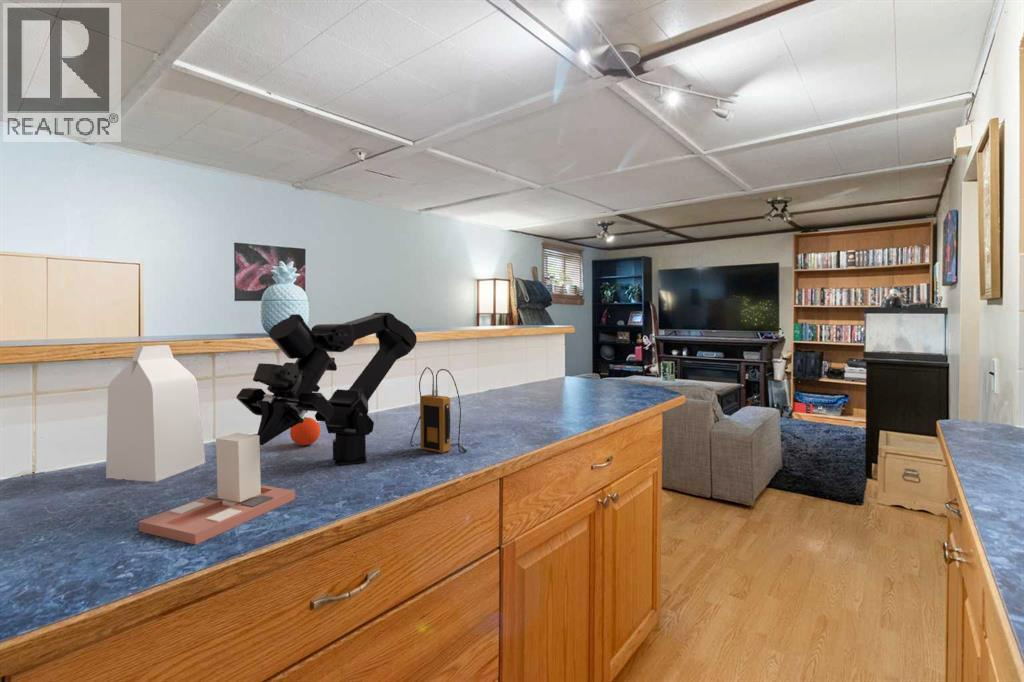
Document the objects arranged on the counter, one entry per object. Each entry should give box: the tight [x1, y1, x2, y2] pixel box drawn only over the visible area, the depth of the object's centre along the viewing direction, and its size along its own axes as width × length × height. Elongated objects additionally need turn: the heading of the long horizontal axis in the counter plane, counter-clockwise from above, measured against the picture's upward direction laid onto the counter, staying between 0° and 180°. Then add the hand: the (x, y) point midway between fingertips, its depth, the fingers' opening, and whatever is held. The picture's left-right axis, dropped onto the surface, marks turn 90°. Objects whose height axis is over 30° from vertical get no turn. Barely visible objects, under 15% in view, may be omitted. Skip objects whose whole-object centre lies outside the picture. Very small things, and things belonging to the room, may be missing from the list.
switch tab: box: [215, 432, 262, 507], centre depth 80 cm, size 4×5×11 cm
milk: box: [105, 344, 206, 483], centre depth 99 cm, size 12×12×26 cm
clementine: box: [289, 416, 321, 447], centre depth 119 cm, size 8×7×7 cm
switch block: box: [138, 484, 296, 546], centre depth 78 cm, size 18×12×2 cm, turn 159°
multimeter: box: [410, 366, 468, 454], centre depth 117 cm, size 15×10×20 cm
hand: (258, 443), depth 84 cm, fingers closed
